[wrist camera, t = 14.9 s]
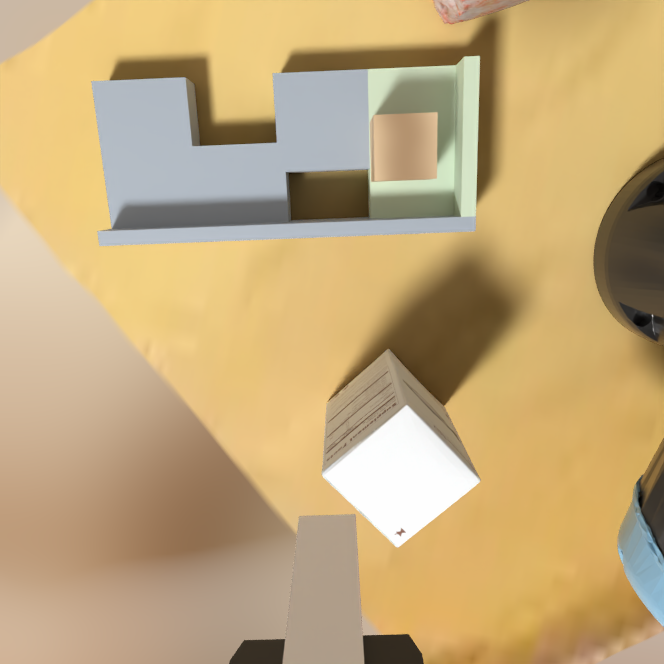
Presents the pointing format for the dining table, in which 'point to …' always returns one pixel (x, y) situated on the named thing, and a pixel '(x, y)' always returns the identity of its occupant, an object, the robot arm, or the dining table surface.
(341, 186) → the dining table surface
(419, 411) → the supplement box
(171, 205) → the tray
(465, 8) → the food item
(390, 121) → the oak block
